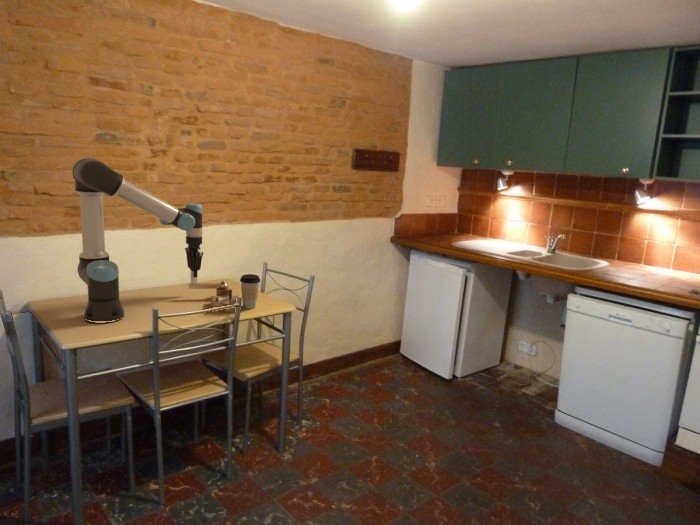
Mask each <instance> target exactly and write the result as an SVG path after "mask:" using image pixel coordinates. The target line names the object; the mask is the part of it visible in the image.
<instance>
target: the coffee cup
mask: <svg viewBox="0 0 700 525" xmlns="http://www.w3.org/2000/svg"><path fill="white" fill-rule="evenodd" d="M239 282H240V284H241V285H240V287H241V298H242V308H243V309H245V308H246V309H245V310H253V309H252V308H254V309H256V307H257V306H256V305H257V300H258V294H259V287H260V286H259V285H260V284H259V283H260V282H261V278H260V276H259V275H257V274H253V273H252V274H251V273H245V274H243V275H242V276H241V277H240V278H239Z"/></svg>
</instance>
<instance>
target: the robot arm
mask: <svg viewBox="0 0 700 525" xmlns="http://www.w3.org/2000/svg"><path fill="white" fill-rule="evenodd" d="M71 170H72V171H71V172H72V178H73V179H74V187H75V188H74V190H75V192H76V193H77V194H78V195H79V201H80V202H79V203H80V219H81V220H80V221H81V222H80V224H81V240H82V241H81V242H82V243H81V244H82V252H80V253H79V255H78V257H79V258H78V260H79V263H78V265H77V274H78V276H79V278H80V279H81V281H83V282H84V283H85V284H86V286H87V297H88V298H87V299H88V301H87V303H86V304H87V305H86V306H85V311H84V317H83V318H85V319H87V320H91V321H112V320H117V319H120V318H122V317H124V318H125V311H124V310H125V309H124V308H123V306H122V305H123V304H122V302H121V299H120V282H119V280H120V279H119V277H120V276H119V274H120V271H119V267H118V264H117V263H116V262H114V261H110V254H109V253H108V251H106V243H105V242H106V241H105V238H106V237H105V219H104V217H105V216H104V215H105V214H104V195H105V194H106V195H107V196H109V197H117V198H119V199H121V200H123V201H124V202H127V203H129V204H131V205H133V206H135V207H137V208H138V209H140V210H143V211H144V212H147V213H148V214H150V215H152V216H155V217H157V218H158V219H159V222H160V224H161V225H162V226H173V227H176V228H177V229H179V230H182V231H184V232H185V235H186V236H185V244H186V245H187V247H185V248H184V251H185V254H186V262H187V267H188V268H189V270H190V283H198V271H200V270H201V267H202V261H203V260H202V259H203V256H204V252H203V251H202V250H201V247H200V246H201V245H203V206H202V204H201V203H196V202H194V203H193V202H191V203H186V204H185V207H183V208H180V207H179V208H178V207H176V206H175V205H172V204H171V203H168V202H167V201H165V200H163V199H161V198H159V197H158V196H156V195H154V194H152V193H150V192H148V191H147V190H145V189H143V188H141V187H139V186H137V185H136V184H134V183H132V182H130V181H129V180H126V179H125V176H124V175H122V174H120V173H119V172H117V171H116V170H114V169H112V168H111V166H108V165H107V164H106V163H104V162H103V161H100V160H97V159H95V158H89V157H87V158H82V159H79V160H78V161H76V162H75V163H74V164H73V166H72V169H71ZM85 319H84V320H85Z"/></svg>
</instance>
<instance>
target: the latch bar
mask: <svg viewBox="0 0 700 525" xmlns="http://www.w3.org/2000/svg"><path fill="white" fill-rule="evenodd" d="M227 287H228V283H227V282H226V281H224V280H221V281H220V282H214V283H213V282H207V283H206V282H197V283H191V282H188V290H189V289H191V290H192V289H193V290H195V289H199V290H200V289H206V290H207V289H212V290H213V289H214V290H215V289H217V288H220V289H226V288H227Z"/></svg>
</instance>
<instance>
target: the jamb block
mask: <svg viewBox="0 0 700 525" xmlns="http://www.w3.org/2000/svg"><path fill="white" fill-rule="evenodd" d="M229 290H230V287H229V286H227V288H226V289H220V288H216V294H215V296H229Z"/></svg>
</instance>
